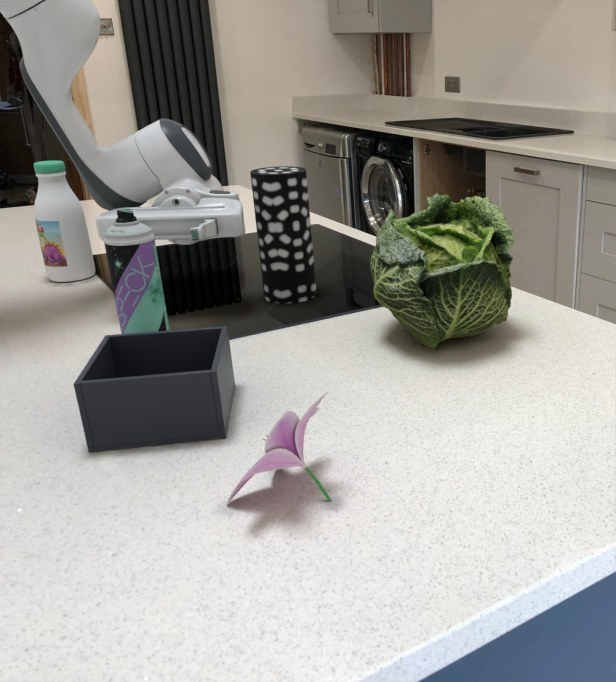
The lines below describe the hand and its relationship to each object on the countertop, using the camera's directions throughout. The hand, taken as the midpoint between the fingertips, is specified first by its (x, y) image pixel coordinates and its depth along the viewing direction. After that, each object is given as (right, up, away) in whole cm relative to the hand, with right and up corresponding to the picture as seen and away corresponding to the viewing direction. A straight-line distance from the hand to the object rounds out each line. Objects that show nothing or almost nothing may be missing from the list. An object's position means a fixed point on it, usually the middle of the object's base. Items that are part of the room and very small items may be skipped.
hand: (160, 235), depth 100 cm
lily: (+25, -28, -33) cm, 50 cm away
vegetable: (+38, -13, +3) cm, 41 cm away
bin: (+9, -22, -20) cm, 31 cm away
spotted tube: (+13, -7, +19) cm, 25 cm away
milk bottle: (-28, -3, +31) cm, 42 cm away
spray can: (+2, -18, -7) cm, 20 cm away
